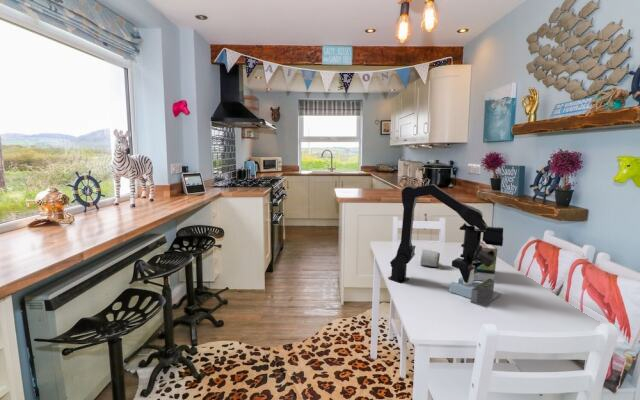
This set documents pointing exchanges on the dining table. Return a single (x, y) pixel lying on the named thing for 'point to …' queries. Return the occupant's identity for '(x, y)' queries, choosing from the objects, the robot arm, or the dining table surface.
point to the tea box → (484, 271)
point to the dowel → (470, 278)
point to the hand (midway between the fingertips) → (468, 281)
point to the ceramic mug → (429, 258)
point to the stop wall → (484, 293)
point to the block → (462, 288)
